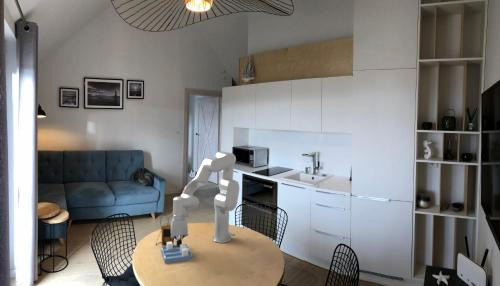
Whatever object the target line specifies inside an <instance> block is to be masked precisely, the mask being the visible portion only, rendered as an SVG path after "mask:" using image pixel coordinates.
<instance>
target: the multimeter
mask: <svg viewBox="0 0 500 286" xmlns="http://www.w3.org/2000/svg"><path fill="white" fill-rule="evenodd" d="M164 216H165V217H166V218H167V224H162V219H163V218H162V217H163V216H161V218H160V220H159V221H160V222H159V224H160V225H161V227H160V232H159V235H158V237H157V240H156V242H155V244H158V240H159V237H160V234H161V241H160V242H159V244H160V243H161V246H167V242H171V241H172V244H173V245H175V244H174V243H177V240H175V238H171V237H170V236H171V232H170V230H171V224H170V219H169V218H170V217H173V214H172V215H171V214H170V215H169V216H167V215H166V214H164ZM178 238H180V236H178Z"/></svg>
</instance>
